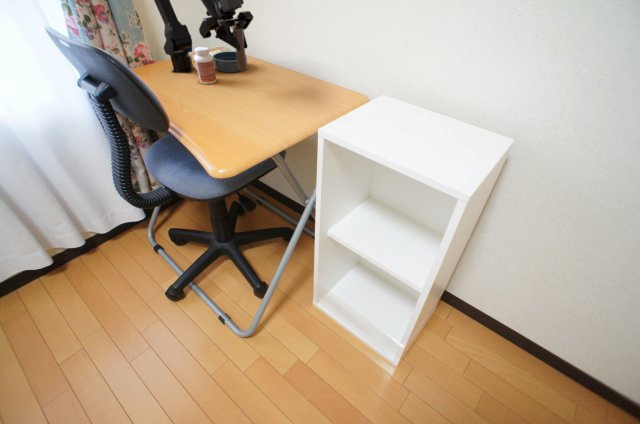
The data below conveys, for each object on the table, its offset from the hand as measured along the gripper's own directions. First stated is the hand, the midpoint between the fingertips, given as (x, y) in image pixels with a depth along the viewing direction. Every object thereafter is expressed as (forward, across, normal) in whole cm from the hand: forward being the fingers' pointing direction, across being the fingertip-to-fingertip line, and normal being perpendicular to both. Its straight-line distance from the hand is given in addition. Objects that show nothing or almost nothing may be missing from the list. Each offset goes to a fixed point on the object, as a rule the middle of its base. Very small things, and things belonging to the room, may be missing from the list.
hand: (243, 48), depth 98 cm
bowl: (-7, +14, +26) cm, 31 cm away
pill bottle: (-3, -2, +23) cm, 23 cm away
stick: (+4, 0, +6) cm, 7 cm away
